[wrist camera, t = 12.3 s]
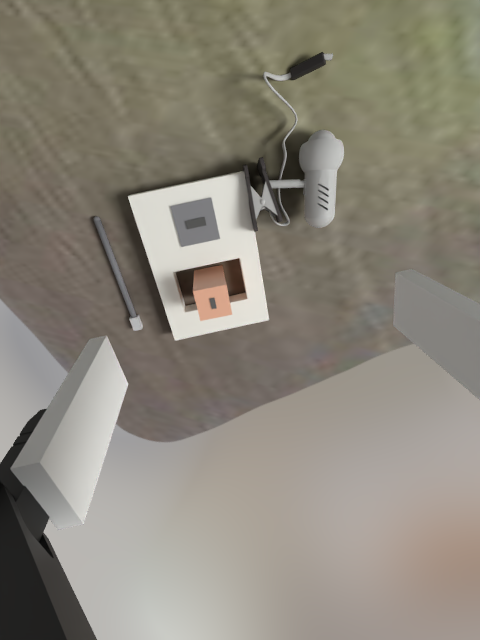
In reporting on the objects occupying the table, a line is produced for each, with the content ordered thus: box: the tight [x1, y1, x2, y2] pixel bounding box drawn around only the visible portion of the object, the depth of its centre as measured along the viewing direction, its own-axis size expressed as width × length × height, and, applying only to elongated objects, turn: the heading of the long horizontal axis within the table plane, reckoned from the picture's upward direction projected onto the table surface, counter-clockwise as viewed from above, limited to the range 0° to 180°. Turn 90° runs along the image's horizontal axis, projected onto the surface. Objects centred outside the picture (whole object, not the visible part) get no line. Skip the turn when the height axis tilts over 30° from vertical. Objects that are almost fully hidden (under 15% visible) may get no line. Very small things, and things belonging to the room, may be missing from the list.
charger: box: [193, 265, 232, 321], centre depth 42 cm, size 4×4×8 cm
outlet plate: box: [128, 171, 269, 340], centre depth 43 cm, size 20×14×3 cm
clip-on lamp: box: [243, 52, 344, 232], centre depth 37 cm, size 12×6×18 cm
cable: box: [93, 216, 143, 331], centre depth 43 cm, size 16×1×1 cm, turn 11°
